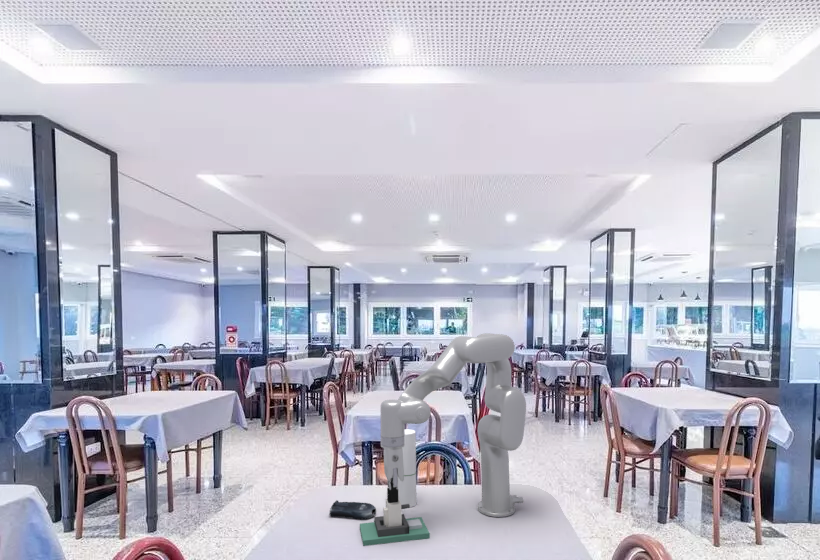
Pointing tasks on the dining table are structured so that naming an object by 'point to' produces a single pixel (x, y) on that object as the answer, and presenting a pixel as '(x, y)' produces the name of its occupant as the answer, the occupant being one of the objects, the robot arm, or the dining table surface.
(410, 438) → the cylindrical container
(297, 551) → the dining table surface
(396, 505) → the keyed plug
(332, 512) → the electronic device
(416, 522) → the circuit board
